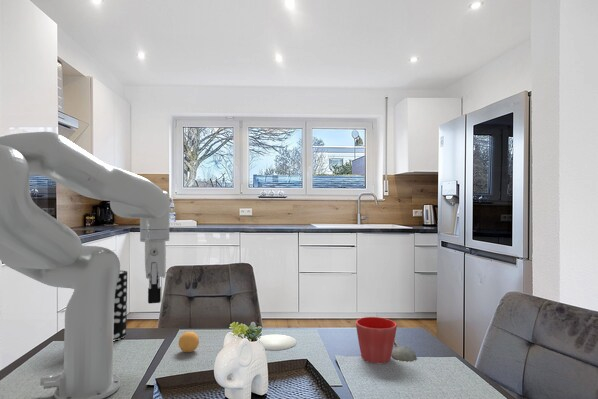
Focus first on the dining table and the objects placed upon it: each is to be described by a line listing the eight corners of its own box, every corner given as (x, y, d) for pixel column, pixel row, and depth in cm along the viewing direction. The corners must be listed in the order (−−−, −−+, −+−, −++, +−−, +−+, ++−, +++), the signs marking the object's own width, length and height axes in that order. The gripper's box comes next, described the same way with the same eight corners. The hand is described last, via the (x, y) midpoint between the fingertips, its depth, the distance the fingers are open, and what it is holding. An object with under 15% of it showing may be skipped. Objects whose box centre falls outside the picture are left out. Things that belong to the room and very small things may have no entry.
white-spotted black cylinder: (131, 333, 121) (132, 270, 122) (116, 343, 113) (117, 275, 113) (106, 332, 122) (108, 270, 123) (90, 341, 114) (91, 274, 114)
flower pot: (397, 368, 97) (397, 329, 97) (354, 364, 99) (354, 326, 100) (395, 352, 108) (395, 318, 108) (356, 349, 110) (356, 315, 110)
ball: (178, 356, 103) (178, 336, 103) (178, 349, 108) (178, 329, 109) (199, 354, 105) (199, 334, 105) (198, 347, 110) (198, 328, 110)
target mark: (258, 352, 107) (258, 351, 107) (249, 337, 119) (249, 336, 119) (302, 347, 111) (302, 346, 111) (288, 333, 123) (288, 332, 123)
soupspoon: (393, 366, 101) (418, 368, 101) (394, 353, 101) (419, 355, 101) (379, 335, 123) (399, 336, 123) (380, 325, 123) (400, 326, 123)
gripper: (169, 237, 99) (169, 308, 99) (169, 233, 113) (168, 295, 113) (138, 238, 96) (137, 311, 96) (141, 233, 110) (141, 297, 110)
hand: (154, 302), depth 104 cm, fingers closed
